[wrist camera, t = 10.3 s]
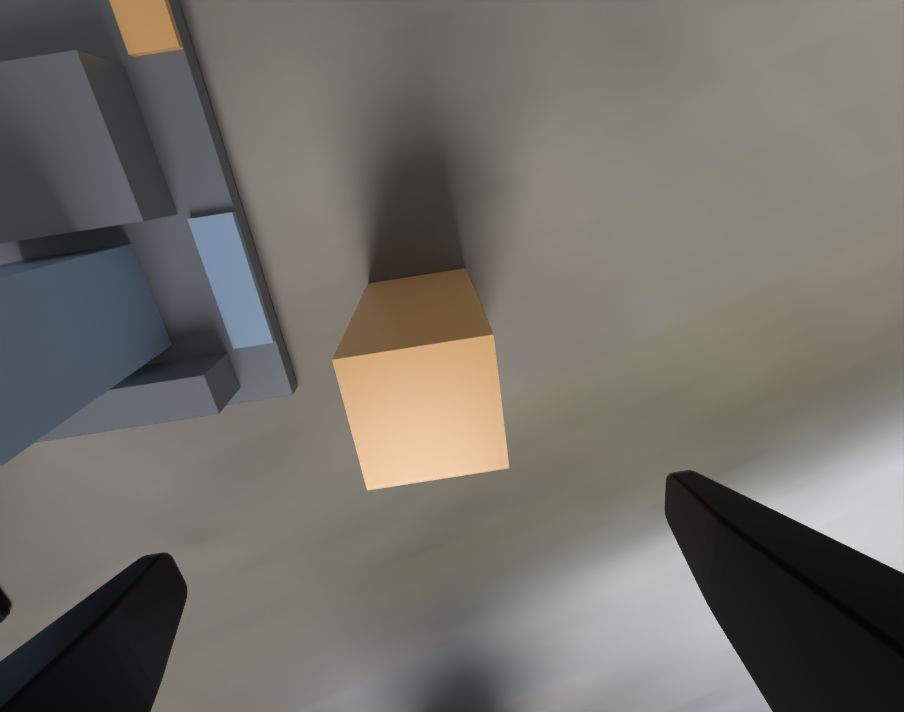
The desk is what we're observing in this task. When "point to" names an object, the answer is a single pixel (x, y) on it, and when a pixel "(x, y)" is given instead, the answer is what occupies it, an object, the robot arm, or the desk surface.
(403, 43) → the desk surface
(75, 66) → the grey slotted base
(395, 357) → the tan rectangular box
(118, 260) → the blue plug
